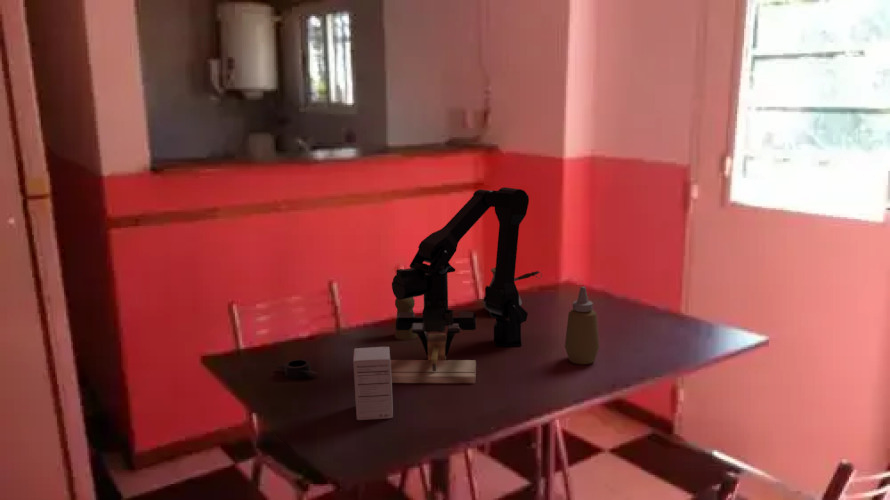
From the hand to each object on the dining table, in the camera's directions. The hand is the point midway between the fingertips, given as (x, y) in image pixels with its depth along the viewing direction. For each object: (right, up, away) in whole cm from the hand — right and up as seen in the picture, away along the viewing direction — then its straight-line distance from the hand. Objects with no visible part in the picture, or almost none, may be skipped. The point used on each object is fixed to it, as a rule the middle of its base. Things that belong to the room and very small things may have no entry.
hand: (437, 355), depth 173 cm
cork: (-8, +2, +19) cm, 21 cm away
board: (-2, -3, -8) cm, 9 cm away
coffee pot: (+22, +6, +35) cm, 42 cm away
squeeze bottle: (+34, -1, -1) cm, 34 cm away
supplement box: (-12, -8, -26) cm, 30 cm away
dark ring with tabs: (-32, -4, -6) cm, 33 cm away
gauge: (0, -2, -4) cm, 5 cm away
